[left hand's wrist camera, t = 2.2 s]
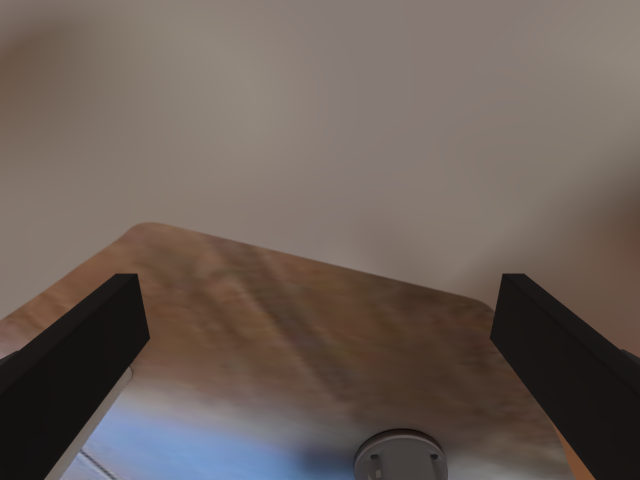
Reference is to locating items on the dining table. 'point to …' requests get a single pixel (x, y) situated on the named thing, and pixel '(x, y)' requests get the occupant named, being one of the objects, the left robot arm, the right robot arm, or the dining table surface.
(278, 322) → the dining table surface
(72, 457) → the bottle
